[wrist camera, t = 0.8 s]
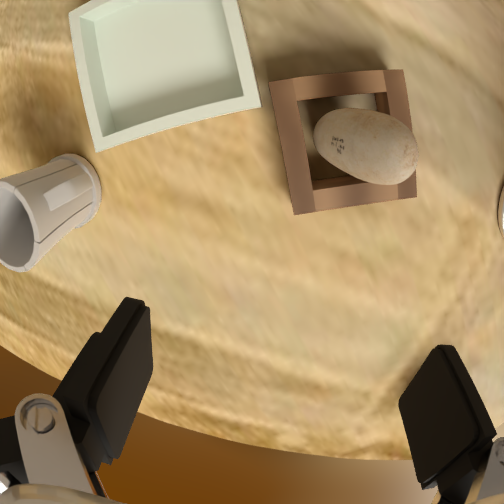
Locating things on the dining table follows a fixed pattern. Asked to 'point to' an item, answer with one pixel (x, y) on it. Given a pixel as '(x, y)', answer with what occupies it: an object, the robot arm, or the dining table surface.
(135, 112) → the tray
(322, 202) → the pocket frame
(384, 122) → the stone
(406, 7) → the dining table surface
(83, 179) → the cup
